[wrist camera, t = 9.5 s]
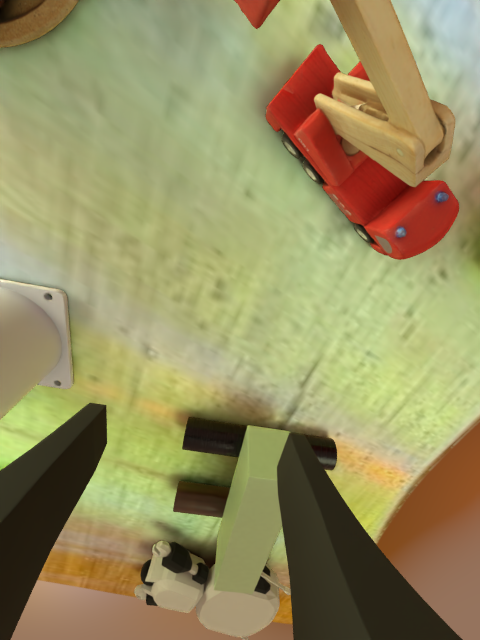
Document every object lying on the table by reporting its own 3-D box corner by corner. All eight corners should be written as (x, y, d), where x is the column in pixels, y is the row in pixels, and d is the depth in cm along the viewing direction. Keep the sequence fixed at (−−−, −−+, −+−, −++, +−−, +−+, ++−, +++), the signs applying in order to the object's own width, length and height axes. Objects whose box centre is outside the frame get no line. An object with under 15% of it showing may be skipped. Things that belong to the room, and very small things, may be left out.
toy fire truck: (374, 256, 17) (509, 327, 9) (208, 55, 13) (141, -195, 5) (423, 215, 16) (633, 247, 8) (258, -16, 12) (296, -517, 4)
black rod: (186, 431, 24) (181, 456, 22) (189, 410, 23) (184, 433, 21) (322, 451, 25) (330, 477, 23) (331, 432, 24) (340, 456, 21)
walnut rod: (177, 491, 27) (172, 517, 25) (180, 474, 26) (174, 500, 24) (297, 506, 28) (302, 533, 26) (304, 491, 27) (309, 518, 25)
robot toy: (140, 566, 35) (253, 599, 36) (123, 615, 31) (251, 651, 32) (163, 509, 30) (294, 549, 31) (147, 559, 26) (298, 604, 27)
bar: (251, 538, 26) (252, 594, 23) (217, 534, 26) (213, 590, 22) (290, 431, 20) (301, 483, 17) (247, 424, 20) (248, 476, 17)
